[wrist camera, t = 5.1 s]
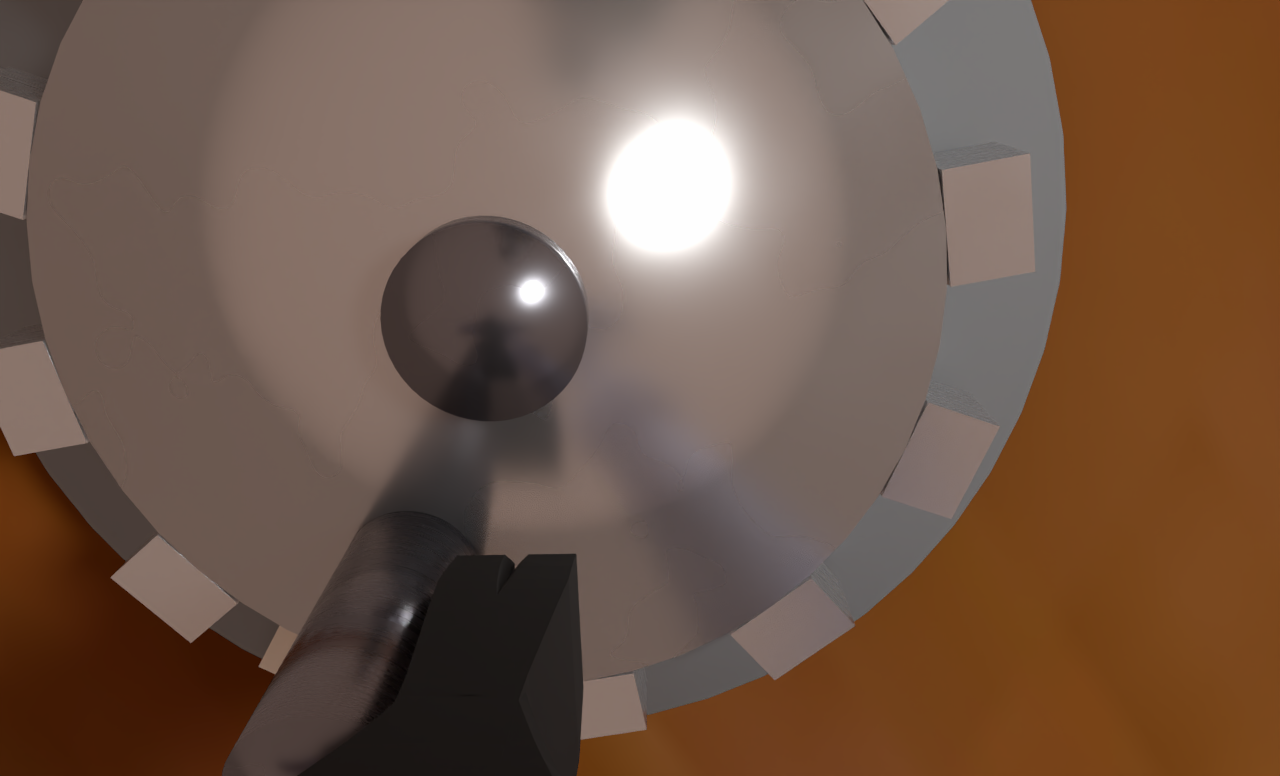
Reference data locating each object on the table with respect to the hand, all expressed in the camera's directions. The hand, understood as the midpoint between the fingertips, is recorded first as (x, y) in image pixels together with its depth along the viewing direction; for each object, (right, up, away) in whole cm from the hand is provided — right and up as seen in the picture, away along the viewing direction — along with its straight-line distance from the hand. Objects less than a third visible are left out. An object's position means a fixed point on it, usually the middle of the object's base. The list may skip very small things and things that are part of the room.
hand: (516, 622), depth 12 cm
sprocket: (0, +4, +1) cm, 4 cm away
